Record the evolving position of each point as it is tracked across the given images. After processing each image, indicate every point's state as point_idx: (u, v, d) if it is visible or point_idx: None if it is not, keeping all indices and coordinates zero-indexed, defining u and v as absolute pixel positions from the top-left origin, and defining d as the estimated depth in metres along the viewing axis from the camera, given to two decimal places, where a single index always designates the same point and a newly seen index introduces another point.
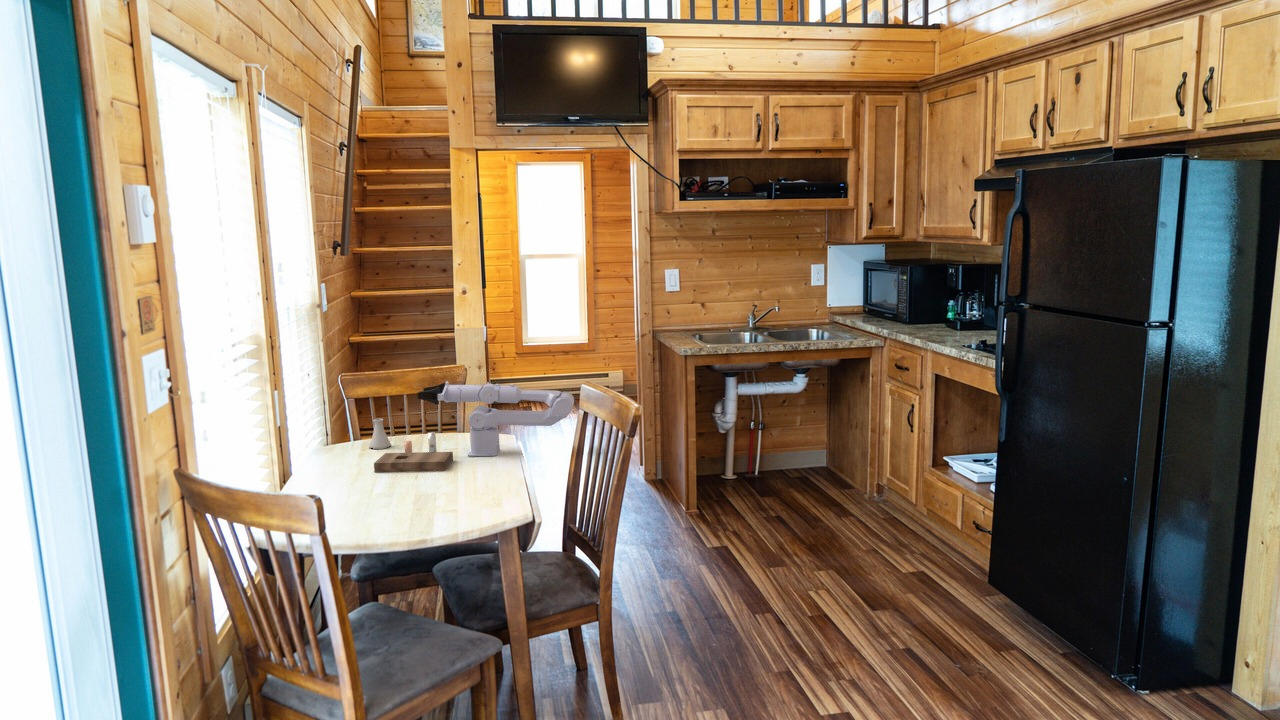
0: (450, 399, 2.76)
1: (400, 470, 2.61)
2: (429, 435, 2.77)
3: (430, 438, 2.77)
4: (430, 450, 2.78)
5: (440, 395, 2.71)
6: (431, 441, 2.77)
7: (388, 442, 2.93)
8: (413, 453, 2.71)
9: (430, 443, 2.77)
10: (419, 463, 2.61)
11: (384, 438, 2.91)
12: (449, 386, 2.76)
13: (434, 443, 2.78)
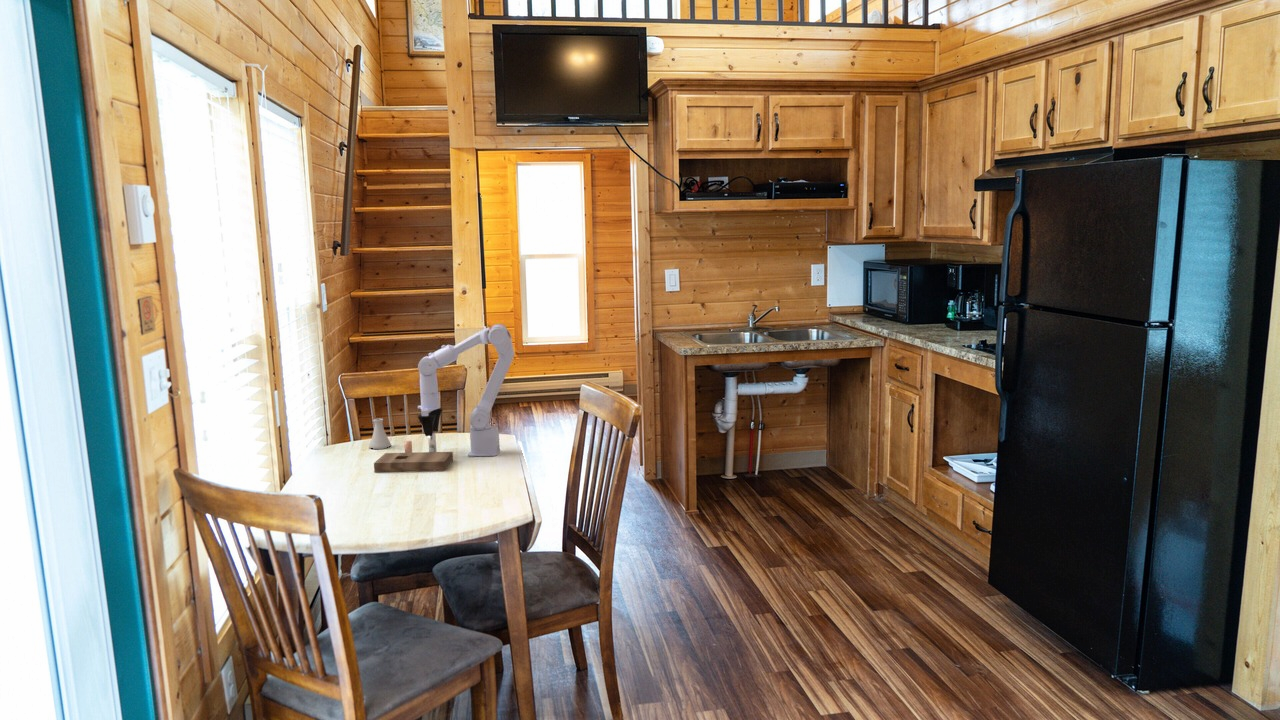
0: (433, 404, 2.74)
1: (400, 470, 2.61)
2: None
3: (430, 438, 2.77)
4: (430, 450, 2.78)
5: (422, 413, 2.70)
6: (431, 442, 2.77)
7: (388, 442, 2.93)
8: (413, 453, 2.71)
9: (430, 443, 2.77)
10: (419, 463, 2.61)
11: (384, 438, 2.91)
12: (421, 404, 2.75)
13: (434, 443, 2.78)
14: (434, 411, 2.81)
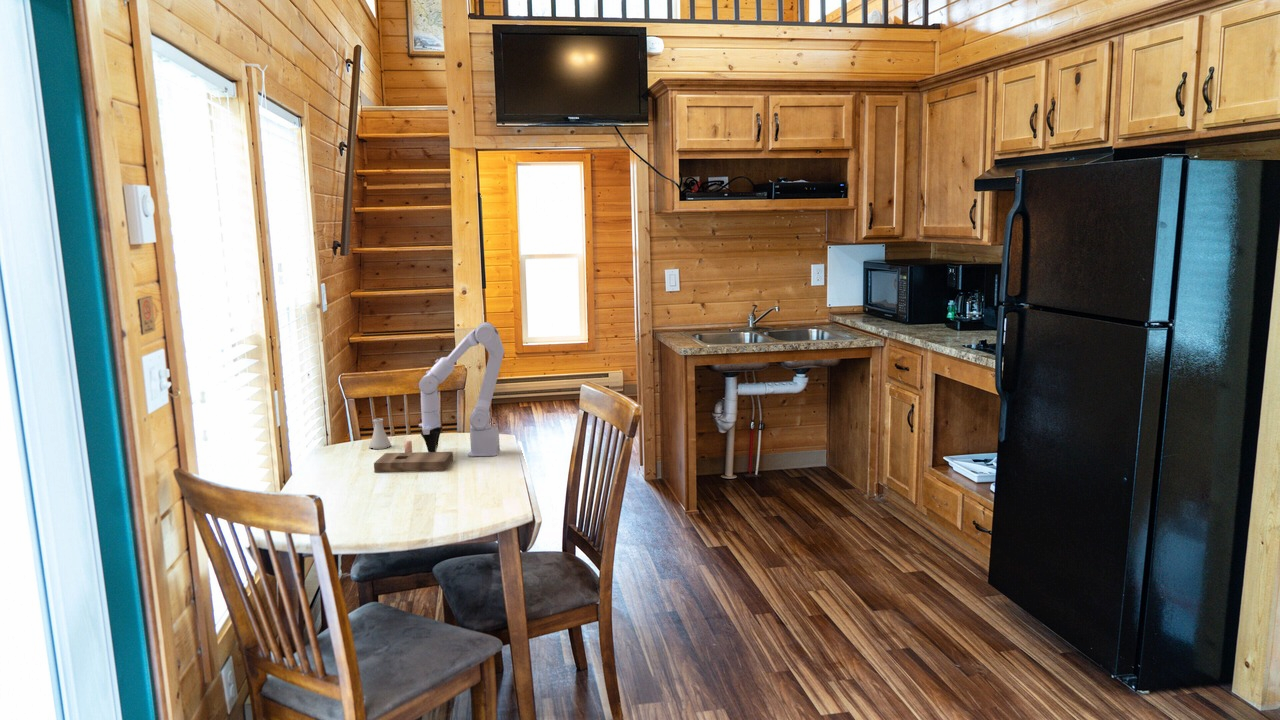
0: (434, 422, 2.75)
1: (400, 470, 2.61)
2: None
3: None
4: None
5: (423, 431, 2.70)
6: None
7: (388, 442, 2.93)
8: (413, 453, 2.71)
9: None
10: (419, 463, 2.61)
11: (384, 438, 2.91)
12: (422, 422, 2.76)
13: None
14: (433, 430, 2.79)
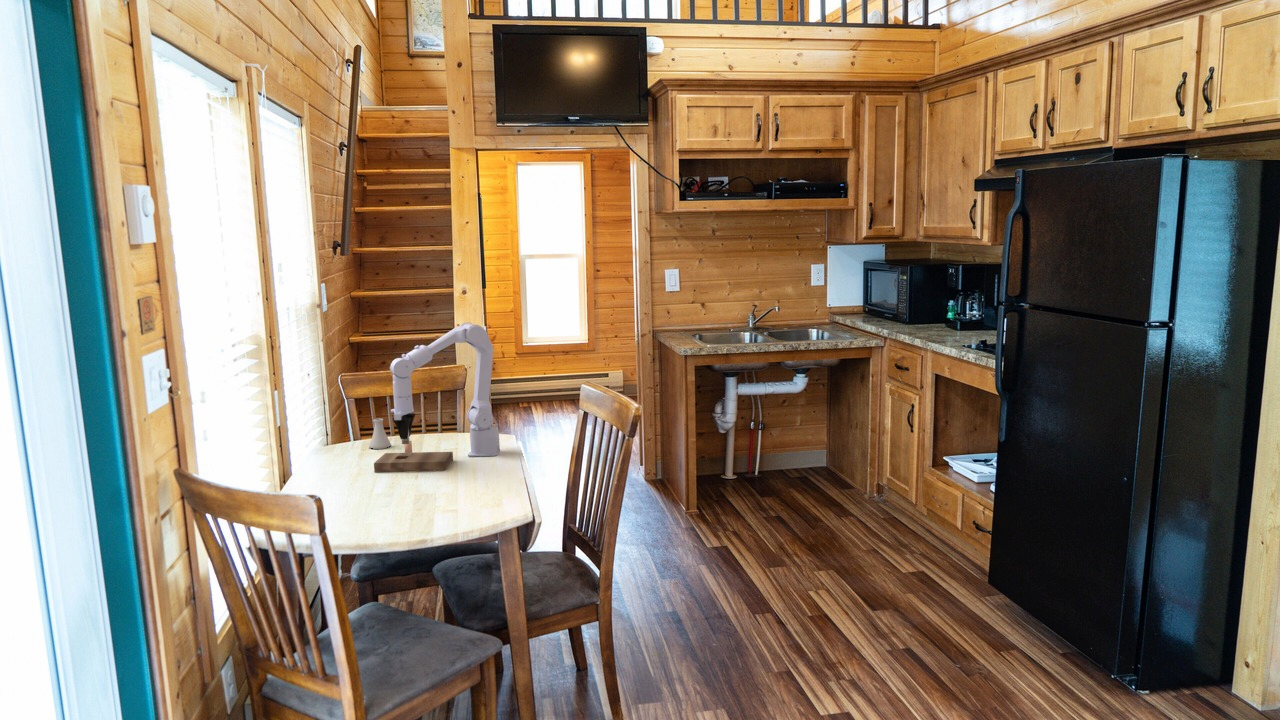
0: (406, 407, 2.64)
1: (400, 470, 2.61)
2: None
3: None
4: None
5: (395, 417, 2.59)
6: None
7: (388, 442, 2.93)
8: (413, 453, 2.71)
9: None
10: (419, 463, 2.61)
11: (384, 438, 2.91)
12: (394, 408, 2.65)
13: None
14: (406, 416, 2.68)
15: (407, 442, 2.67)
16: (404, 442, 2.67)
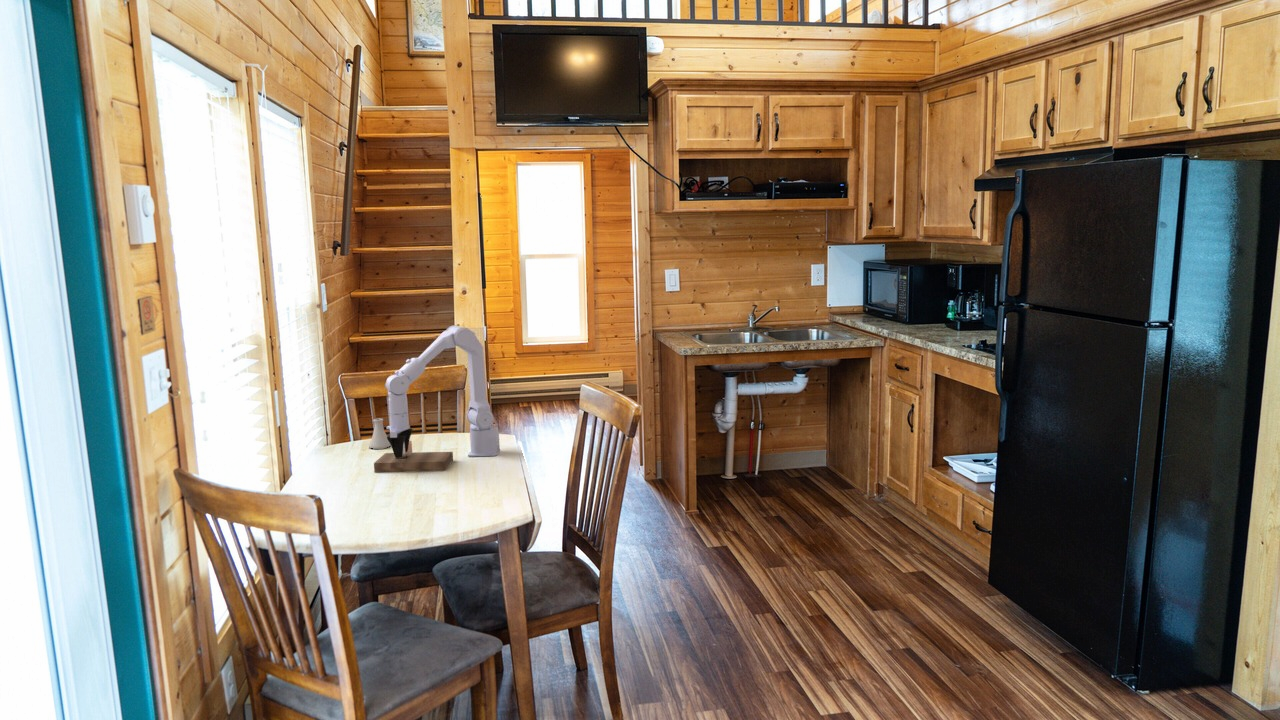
0: (402, 424, 2.63)
1: (400, 470, 2.61)
2: None
3: None
4: None
5: (391, 434, 2.58)
6: None
7: (388, 442, 2.93)
8: (413, 453, 2.71)
9: None
10: (419, 463, 2.61)
11: (384, 438, 2.91)
12: (390, 425, 2.64)
13: (403, 453, 2.66)
14: (404, 432, 2.69)
15: None
16: None
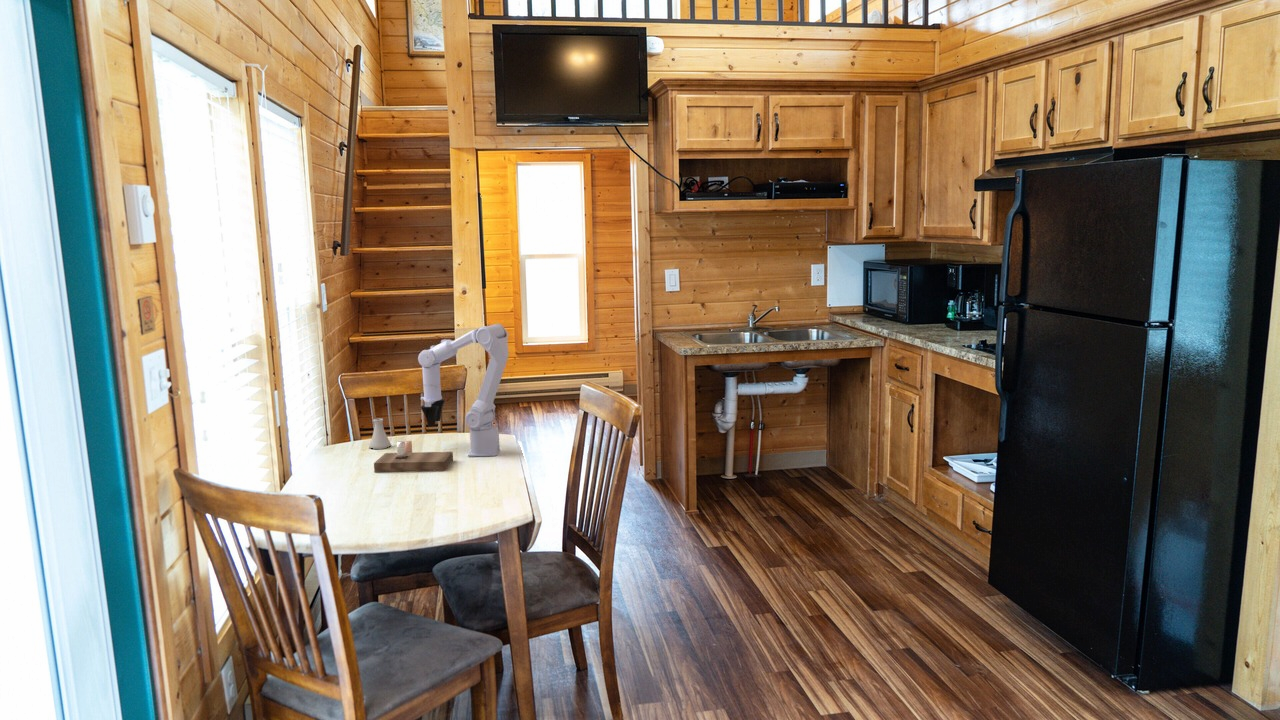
0: (435, 395, 2.82)
1: (400, 470, 2.61)
2: (398, 444, 2.65)
3: (399, 448, 2.65)
4: None
5: (425, 404, 2.77)
6: (400, 451, 2.65)
7: (388, 442, 2.93)
8: (413, 453, 2.71)
9: (399, 453, 2.65)
10: (419, 463, 2.61)
11: (384, 438, 2.91)
12: (424, 395, 2.83)
13: (403, 453, 2.66)
14: (437, 402, 2.88)
15: None
16: None
